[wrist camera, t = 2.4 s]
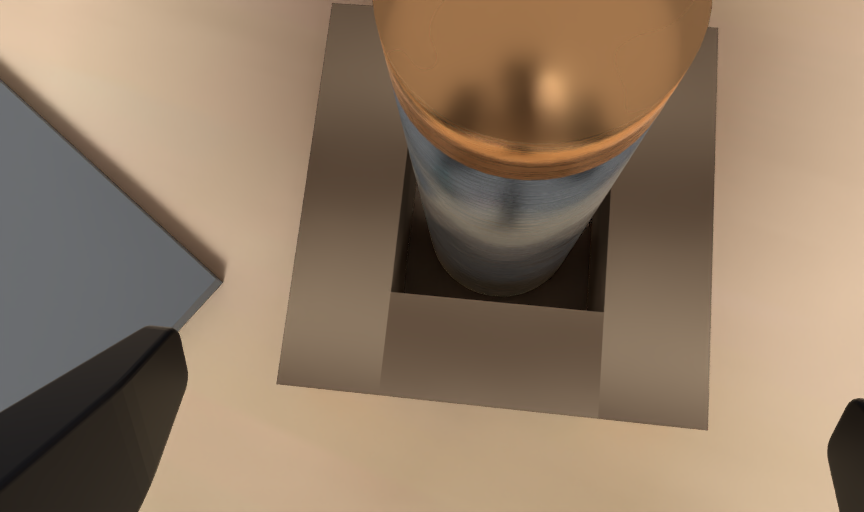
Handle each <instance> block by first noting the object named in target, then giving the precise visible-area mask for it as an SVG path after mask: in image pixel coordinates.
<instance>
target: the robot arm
mask: <svg viewBox="0 0 864 512" xmlns="http://www.w3.org/2000/svg"><path fill="white" fill-rule="evenodd" d="M187 381H188V370H187V365H186V361H185V356H184V352H183V347H182V342H181V338H180V335H179V333H178V331H177V330H176V329H174V328H172V327H163V326H153V325H150V326H145V327H143V328H141V329H139V330H137V331H136V332H134V333H132V334H131V335H129V336H127V337H126V338H124V339H122V340H121V341H119V342H117V343H116V344H114V345H112V346H110V347H109V348H107V349H105V350H104V351H102V352H100V353H99V354H97V355H95V356H94V357H92V358H90V359H89V360H87V361H85V362H83V363H82V364H80V365H78V366H77V367H75V368H73V369H72V370H70V371H68V372H67V373H65V374H63V375H62V376H60V377H58V378H57V379H55V380H53V381H51V382H50V383H48V384H46V385H45V386H43V387H41V388H40V389H38V390H36V391H35V392H33V393H31V394H30V395H28V396H26V397H24V398H23V399H21V400H19V401H18V402H16V403H14V404H13V405H11V406H9V407H8V408H6V409H4V410H3V411H1V412H0V512H138V511H139V509H140V507H141V505H142V503H143V501H144V499H145V497H146V494H147V492H148V490H149V488H150V486H151V483H152V481H153V478H154V476H155V473H156V470H157V468H158V465H159V462H160V459H161V457H162V454H163V451H164V448H165V446H166V443H167V440H168V437H169V434H170V432H171V429H172V426H173V423H174V420H175V418H176V415H177V412H178V409H179V406H180V404H181V401H182V398H183V395H184V393H185V390H186V386H187ZM827 455H828V462H829V467H830V471H831V476H832V480H833V485H834V489H835V494H836V498H837V503H838V507H839V512H864V399H863V398H857V399H853V400H852V401H851V402H849V403H848V405H847V407H846V408H845V410H844V412H843V414H842V416H841V418H840V420H839V422H838V424H837V426H836V428H835V430H834V432H833V434H832V436H831V438H830V440H829V443H828V450H827Z"/></svg>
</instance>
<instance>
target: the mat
mask: <svg viewBox="0 0 864 512" xmlns="http://www.w3.org/2000/svg"><path fill="white" fill-rule="evenodd" d="M222 283H223V282H222V281H221V280H220V279H219V278H217V277H216V276H215V275H214V274H213V273H212V272H211V271H210V270H209V269H208V268H206V267H205V266H204V265H203V264H202V263H201V262H200V261H199V260H198V259H197V258H196V257H194V256H193V255H192V254H191V253H190V252H189V251H188V250H187V249H186V248H185V247H184V246H182V245H181V244H180V243H179V242H178V241H177V240H176V239H175V238H174V237H173V236H171V235H170V234H169V233H168V232H167V231H166V230H165V229H164V228H163V227H162V226H161V225H159V224H158V223H157V222H156V221H155V220H154V219H153V218H152V217H151V216H150V215H148V214H147V213H146V212H145V211H144V210H143V209H142V208H141V207H140V206H139V205H138V204H136V203H135V202H134V201H133V200H132V199H131V198H130V197H129V196H128V195H127V194H126V193H124V192H123V191H122V190H121V189H120V188H119V187H118V186H117V185H116V184H115V183H113V182H112V181H111V180H110V179H109V178H108V177H107V176H106V175H105V174H104V173H103V172H101V171H100V170H99V169H98V168H97V167H96V166H95V165H94V164H93V163H92V162H91V161H89V160H88V159H87V158H86V157H85V156H84V155H83V154H82V153H81V152H80V151H78V150H77V149H76V148H75V147H74V146H73V145H72V144H71V143H70V142H69V141H68V140H66V139H65V138H64V137H63V136H62V135H61V134H60V133H59V132H58V131H57V130H55V129H54V128H53V127H52V126H51V125H50V124H49V123H48V122H47V121H46V120H45V119H43V118H42V117H41V116H40V115H39V114H38V113H37V112H36V111H35V110H34V109H33V108H31V107H30V106H29V105H28V104H27V103H26V102H25V101H24V100H23V99H22V98H20V97H19V96H18V95H17V94H16V93H15V92H14V91H13V90H12V89H11V88H10V87H8V86H7V85H6V84H5V83H4V82H3V81H2V80H1V79H0V412H1V411H3V410H4V409H6V408H8V407H9V406H11V405H13V404H14V403H16V402H18V401H19V400H21V399H23V398H24V397H26V396H28V395H30V394H31V393H33V392H35V391H36V390H38V389H40V388H41V387H43V386H45V385H46V384H48V383H50V382H51V381H53V380H55V379H57V378H58V377H60V376H62V375H63V374H65V373H67V372H68V371H70V370H72V369H73V368H75V367H77V366H78V365H80V364H82V363H83V362H85V361H87V360H89V359H90V358H92V357H94V356H95V355H97V354H99V353H100V352H102V351H104V350H105V349H107V348H109V347H110V346H112V345H114V344H116V343H117V342H119V341H121V340H122V339H124V338H126V337H127V336H129V335H131V334H132V333H134V332H136V331H137V330H139V329H141V328H143V327H145V326H150V325H153V326H163V327H172V328H174V329H176V330H177V331H179V330H180V329H181V327H182V326H183V325H184V324H185V323H186V322H187V321H188V320H189V319H190V318H191V317H192V315H193V314H194V313H195V312H196V311H197V310H198V309H199V308H200V307H201V306H202V305H203V304H204V302H205V301H206V300H207V299H208V298H209V297H210V296H211V295H212V294H213V293H214V292H215V290H216V289H217V288H218V287H219V286H220V285H221V284H222Z"/></svg>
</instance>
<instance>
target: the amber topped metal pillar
mask: <svg viewBox="0 0 864 512" xmlns="http://www.w3.org/2000/svg"><path fill="white" fill-rule="evenodd" d="M373 8H374V16H375V21H376V25H377V29H378V33H379V37H380V41H381V45H382V48H383V52H384V56H385V60H386V64H387V68H388V72H389V76H390V80H391V84H392V88H393V91H394V95H395V99H396V103H397V107H398V111H399V115H400V119H401V123H402V127H403V131H404V135H405V138H406V142H407V146H408V150H409V154H410V158H411V162H412V166H413V170H414V174H415V178H416V181H417V185H418V189H419V193H420V197H421V201H422V205H423V209H424V213H425V217H426V221H427V224H428V228H429V232H430V236H431V240H432V244H433V247H434V251H435V253H436V255H437V258H438V260H439V261H440V263H441V265H442V266H443V268H444V269H445V270H446V271H447V273H448V274H449V275H450V276H451V277H452V278H453V279H455V280H456V281H457V282H459V283H460V284H461V285H463V286H464V287H466V288H468V289H470V290H472V291H475V292H477V293H480V294H484V295H488V296H496V297H507V296H514V295H519V294H523V293H526V292H528V291H531V290H533V289H535V288H537V287H538V286H540V285H542V284H543V283H544V282H546V281H547V280H548V279H549V278H550V277H551V276H552V275H553V274H554V273H555V272H556V271H557V270H558V268H559V267H560V266H561V264H562V263H563V261H564V260H565V258H566V257H567V255H568V253H569V252H570V250H571V249H572V247H573V246H574V244H575V243H576V241H577V240H578V238H579V236H580V235H581V233H582V232H583V230H584V229H585V227H586V226H587V224H588V223H589V221H590V220H591V218H592V216H593V215H594V213H595V212H596V210H597V209H598V207H599V206H600V204H601V203H602V201H603V200H604V198H605V196H606V195H607V193H608V192H609V190H610V189H611V187H612V186H613V184H614V183H615V181H616V179H617V178H618V176H619V175H620V173H621V172H622V170H623V169H624V167H625V166H626V164H627V163H628V161H629V159H630V158H631V156H632V155H633V153H634V152H635V150H636V149H637V147H638V146H639V144H640V142H641V141H642V139H643V138H644V136H645V135H646V133H647V132H648V130H649V129H650V127H651V126H652V124H653V122H654V121H655V119H656V118H657V116H658V115H659V113H660V112H661V110H662V109H663V107H664V106H665V104H666V102H667V101H668V99H669V98H670V96H671V95H672V93H673V92H674V90H675V89H676V87H677V85H678V84H679V82H680V81H681V79H682V78H683V76H684V75H685V73H686V72H687V70H688V69H689V67H690V65H691V64H692V62H693V60H694V58H695V56H696V54H697V52H698V51H699V49H700V47H701V44H702V42H703V39H704V36H705V33H706V31H707V28H708V23H709V18H710V14H711V9H712V0H373Z"/></svg>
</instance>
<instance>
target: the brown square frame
mask: <svg viewBox="0 0 864 512" xmlns="http://www.w3.org/2000/svg"><path fill="white" fill-rule="evenodd" d="M717 54H718V28H711V27H708V28H707V31H706V33H705V36H704V39H703V42H702V44H701V47H700V49H699V51H698V52H697V54H696V56H695V58H694V60H693V62H692V64H691V65H690V67H689V69H688V70H687V72H686V73H685V75H684V76H683V78H682V79H681V81H680V82H679V84H678V85H677V87H676V89H675V90H674V92H673V93H672V95H671V96H670V98H669V99H668V101H667V102H666V104H665V106H664V107H663V109H662V110H661V112H660V113H659V115H658V116H657V118H656V119H655V121H654V122H653V124H652V126H651V127H650V129H649V130H648V132H647V133H646V135H645V136H644V138H643V139H642V141H641V142H640V144H639V146H638V147H637V149H636V150H635V152H634V153H633V155H632V156H631V158H630V159H629V161H628V163H627V164H626V166H625V167H624V169H623V170H622V172H621V173H620V175H619V176H618V178H617V179H616V181H615V183H614V184H613V186H612V187H611V189H610V190H609V192H608V193H607V195H606V196H605V198H604V200H603V201H602V203H601V204H600V206H599V207H598V209H597V210H596V212H595V213H594V215H593V216H592V231H591V247H590V263H589V280H588V296H587V311H584V310H574V309H564V308H553V307H543V306H532V305H522V304H511V303H501V302H490V301H480V300H470V299H459V298H449V297H438V296H428V295H417V294H407V293H404V285H405V276H406V267H407V258H408V249H409V241H410V232H411V223H412V214H413V206H414V197H415V188H416V178H415V174H414V170H413V166H412V162H411V158H410V154H409V150H408V146H407V142H406V138H405V135H404V131H403V127H402V123H401V119H400V115H399V111H398V107H397V103H396V99H395V95H394V91H393V88H392V84H391V80H390V76H389V72H388V68H387V64H386V60H385V56H384V52H383V48H382V45H381V41H380V37H379V33H378V29H377V25H376V21H375V16H374V8H373V6H366V5H351V4H335V3H332V9H331V16H330V23H329V29H328V36H327V43H326V50H325V57H324V63H323V70H322V77H321V84H320V91H319V98H318V104H317V111H316V118H315V125H314V132H313V138H312V145H311V152H310V159H309V166H308V172H307V179H306V186H305V193H304V200H303V207H302V213H301V220H300V227H299V234H298V241H297V247H296V254H295V261H294V268H293V275H292V281H291V288H290V295H289V302H288V309H287V315H286V322H285V329H284V336H283V343H282V350H281V356H280V363H279V370H278V377H277V384H280V385H290V386H299V387H308V388H318V389H327V390H336V391H346V392H355V393H364V394H374V395H383V396H392V397H401V398H411V399H420V400H429V401H439V402H448V403H457V404H467V405H476V406H485V407H494V408H504V409H513V410H522V411H532V412H541V413H550V414H560V415H569V416H578V417H587V418H597V419H606V420H615V421H625V422H634V423H643V424H653V425H662V426H671V427H680V428H690V429H699V430H708V406H709V367H710V328H711V289H712V250H713V210H714V171H715V132H716V93H717Z"/></svg>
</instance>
